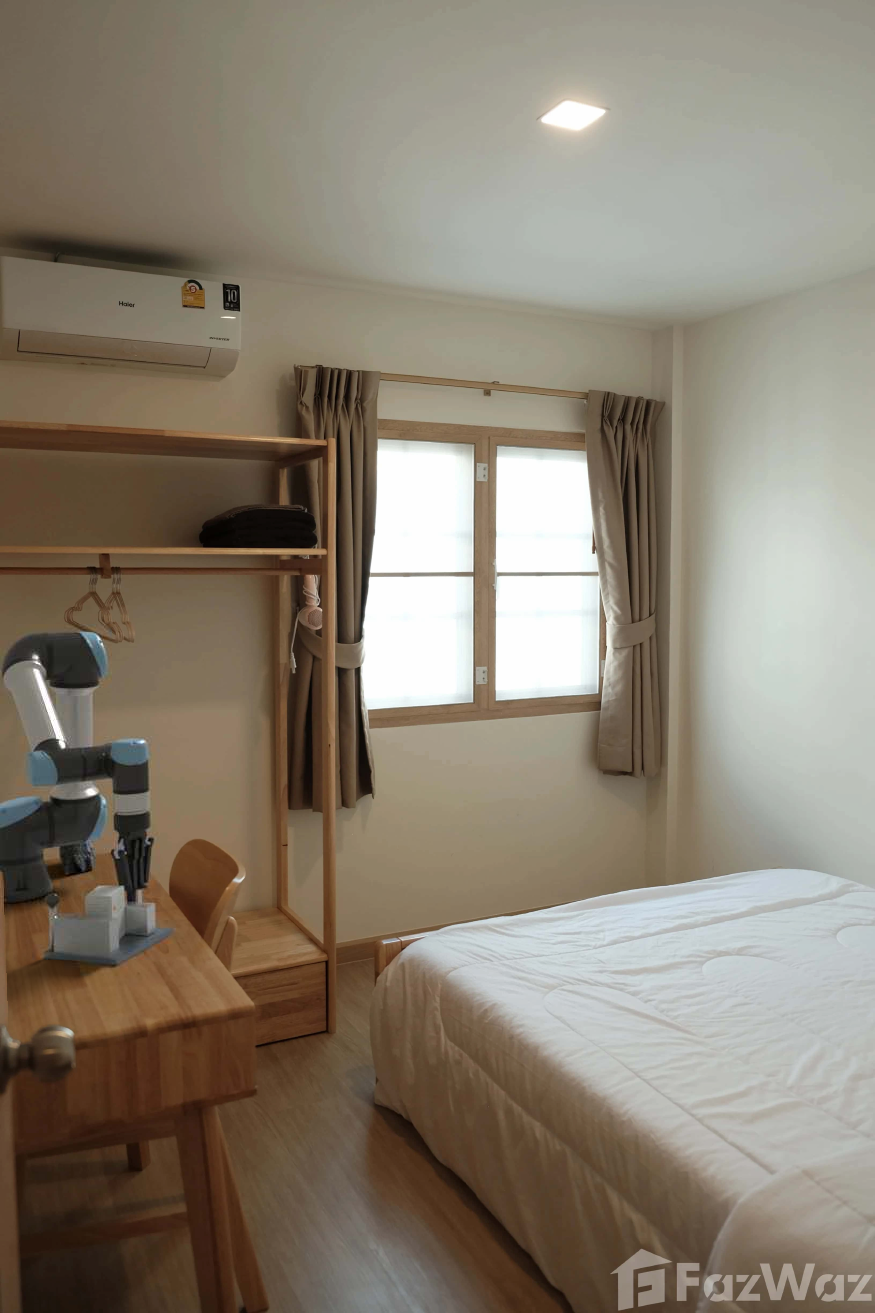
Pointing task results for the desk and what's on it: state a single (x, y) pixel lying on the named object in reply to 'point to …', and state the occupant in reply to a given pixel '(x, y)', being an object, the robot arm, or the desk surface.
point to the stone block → (77, 857)
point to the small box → (107, 904)
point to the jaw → (139, 918)
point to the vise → (94, 937)
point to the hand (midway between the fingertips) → (135, 919)
